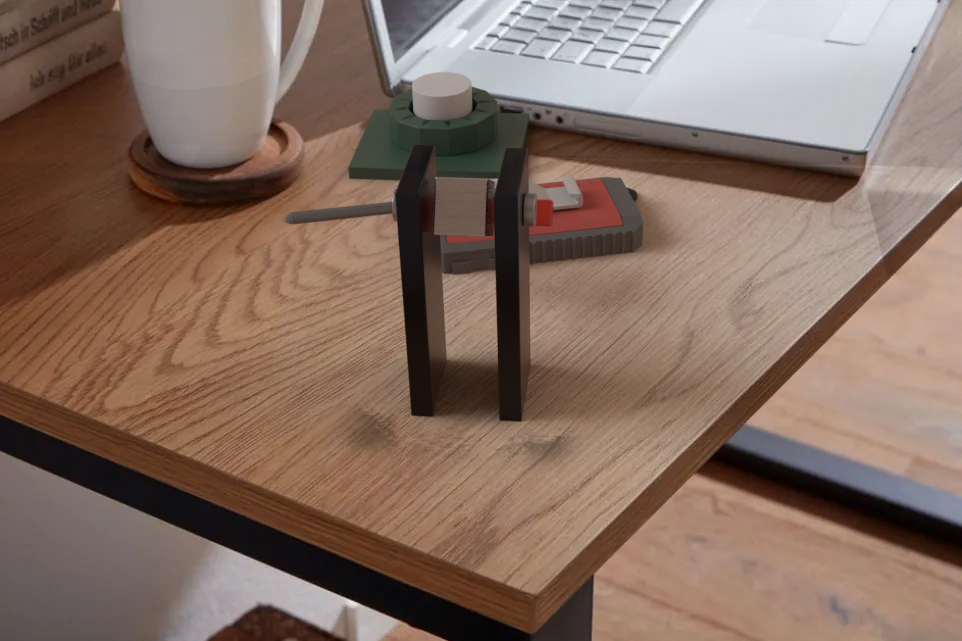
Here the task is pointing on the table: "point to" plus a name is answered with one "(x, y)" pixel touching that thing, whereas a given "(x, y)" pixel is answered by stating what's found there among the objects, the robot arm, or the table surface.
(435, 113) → the button
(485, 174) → the switch box
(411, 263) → the bracket
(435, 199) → the lever
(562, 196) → the walkie-talkie
